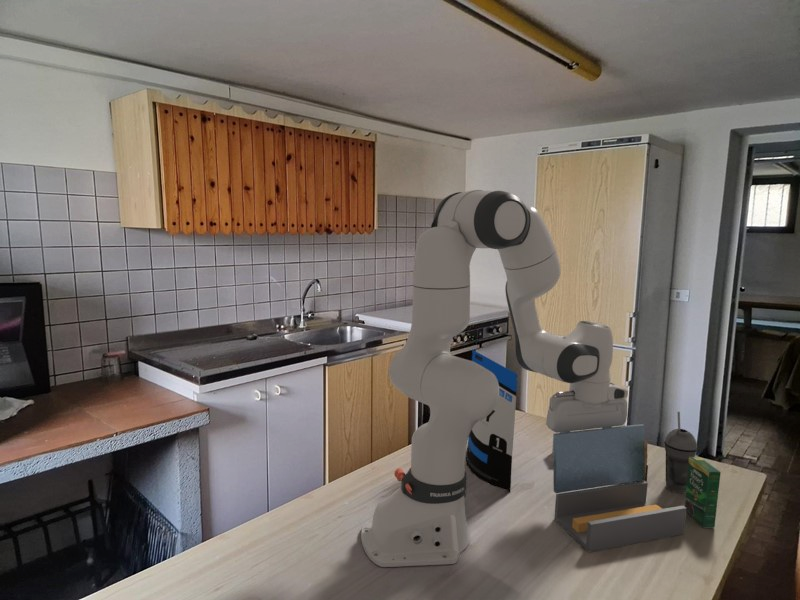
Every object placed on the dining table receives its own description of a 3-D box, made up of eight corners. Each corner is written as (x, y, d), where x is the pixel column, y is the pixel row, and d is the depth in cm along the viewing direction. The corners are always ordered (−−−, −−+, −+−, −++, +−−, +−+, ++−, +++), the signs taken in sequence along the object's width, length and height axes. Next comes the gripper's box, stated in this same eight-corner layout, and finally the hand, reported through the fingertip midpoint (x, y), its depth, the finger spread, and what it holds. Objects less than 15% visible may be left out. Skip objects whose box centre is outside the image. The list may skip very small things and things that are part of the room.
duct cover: (556, 434, 112) (553, 433, 113) (556, 493, 113) (553, 491, 113) (644, 425, 119) (641, 424, 120) (644, 479, 120) (641, 478, 120)
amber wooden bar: (577, 532, 107) (578, 523, 107) (572, 527, 109) (572, 518, 109) (662, 517, 113) (663, 509, 113) (655, 512, 115) (656, 504, 115)
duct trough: (588, 552, 102) (591, 524, 101) (554, 519, 113) (556, 494, 113) (683, 534, 109) (686, 507, 108) (642, 504, 120) (644, 480, 120)
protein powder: (482, 448, 149) (487, 348, 144) (527, 490, 126) (534, 372, 122) (452, 452, 146) (457, 350, 142) (492, 495, 123) (499, 375, 119)
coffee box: (682, 507, 119) (688, 455, 118) (694, 508, 119) (700, 455, 118) (702, 528, 111) (708, 471, 110) (715, 528, 111) (722, 472, 110)
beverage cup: (691, 499, 123) (700, 420, 120) (658, 490, 127) (666, 414, 124) (693, 486, 129) (701, 411, 127) (661, 478, 133) (668, 405, 130)
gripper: (558, 397, 114) (554, 455, 116) (633, 390, 120) (628, 446, 122) (543, 388, 120) (539, 444, 122) (615, 382, 126) (610, 436, 128)
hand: (584, 445), depth 122 cm, fingers open, 8 cm apart
